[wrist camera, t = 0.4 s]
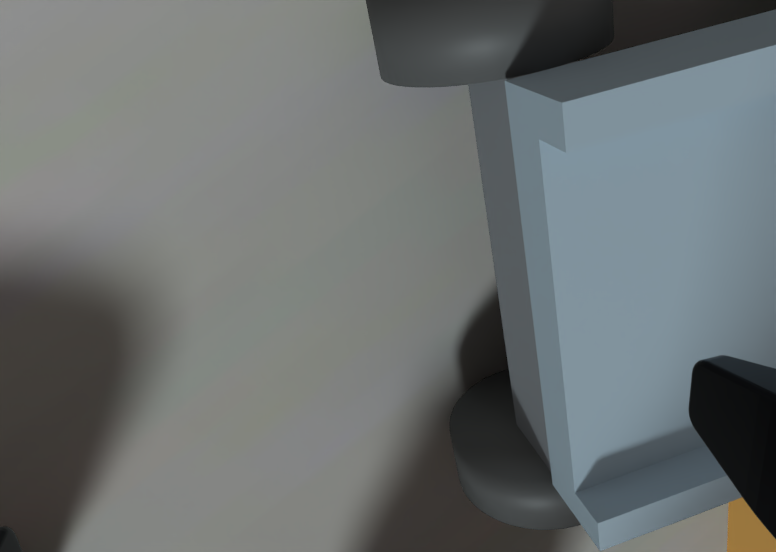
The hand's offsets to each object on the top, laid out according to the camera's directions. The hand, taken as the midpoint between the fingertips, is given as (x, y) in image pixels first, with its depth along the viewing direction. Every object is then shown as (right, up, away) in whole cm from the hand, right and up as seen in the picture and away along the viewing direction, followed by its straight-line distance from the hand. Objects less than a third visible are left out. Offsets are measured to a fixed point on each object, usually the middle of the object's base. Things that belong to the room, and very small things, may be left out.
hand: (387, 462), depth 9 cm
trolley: (+9, +6, +16) cm, 19 cm away
